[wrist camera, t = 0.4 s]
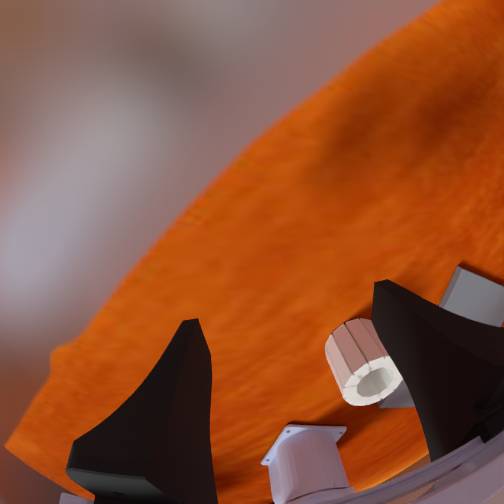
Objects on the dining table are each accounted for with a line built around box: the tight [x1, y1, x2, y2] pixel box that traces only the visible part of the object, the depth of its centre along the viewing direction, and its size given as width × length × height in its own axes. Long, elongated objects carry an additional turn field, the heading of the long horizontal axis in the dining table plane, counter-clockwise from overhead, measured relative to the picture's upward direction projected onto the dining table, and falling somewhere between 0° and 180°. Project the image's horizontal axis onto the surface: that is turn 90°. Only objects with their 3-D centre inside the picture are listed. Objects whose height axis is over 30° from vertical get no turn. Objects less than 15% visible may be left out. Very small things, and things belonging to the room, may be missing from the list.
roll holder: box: [377, 266, 504, 408], centre depth 26 cm, size 18×14×3 cm
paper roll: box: [325, 318, 403, 406], centre depth 23 cm, size 5×5×6 cm
